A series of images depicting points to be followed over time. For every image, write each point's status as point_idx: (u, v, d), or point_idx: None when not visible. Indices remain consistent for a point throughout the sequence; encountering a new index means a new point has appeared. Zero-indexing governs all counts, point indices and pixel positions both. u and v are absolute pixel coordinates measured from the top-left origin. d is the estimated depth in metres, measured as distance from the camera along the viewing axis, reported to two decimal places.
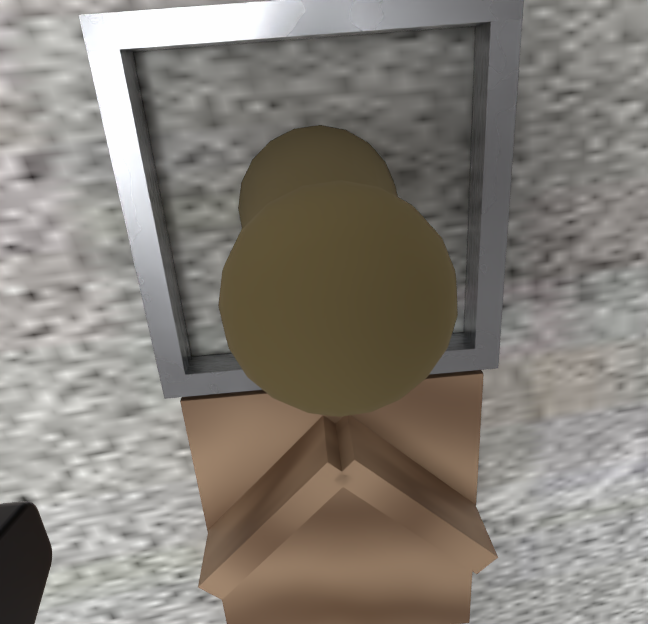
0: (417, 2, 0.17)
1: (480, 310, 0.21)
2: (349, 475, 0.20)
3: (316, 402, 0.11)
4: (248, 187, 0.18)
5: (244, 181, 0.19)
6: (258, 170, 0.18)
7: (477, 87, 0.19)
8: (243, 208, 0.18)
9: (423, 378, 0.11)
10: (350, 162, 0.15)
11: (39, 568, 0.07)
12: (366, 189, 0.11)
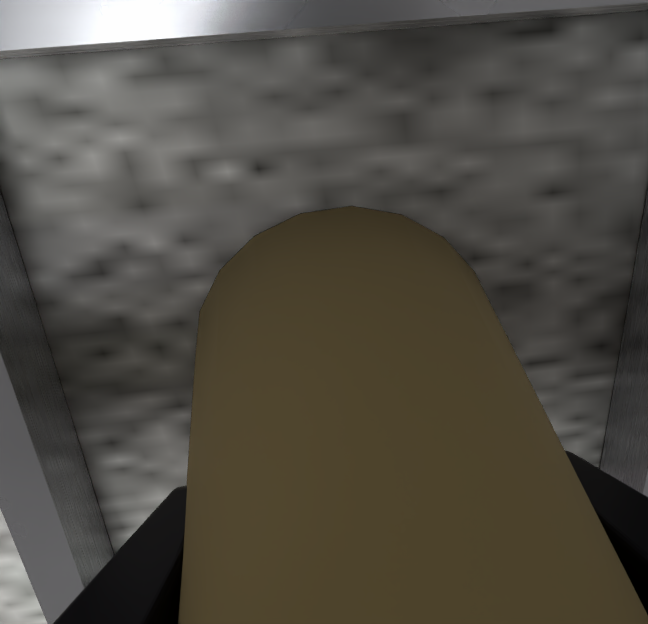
0: None
1: None
2: None
3: None
4: (204, 352, 0.08)
5: (203, 316, 0.10)
6: (225, 319, 0.08)
7: None
8: (193, 399, 0.08)
9: None
10: (450, 353, 0.06)
11: None
12: None
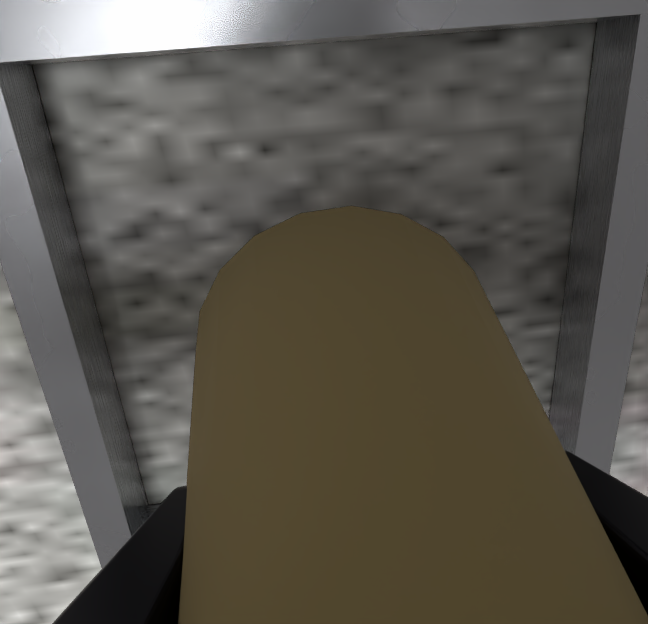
0: None
1: (580, 454, 0.14)
2: None
3: None
4: (204, 351, 0.08)
5: (203, 316, 0.10)
6: (225, 318, 0.08)
7: (595, 121, 0.11)
8: (193, 398, 0.08)
9: None
10: (449, 352, 0.06)
11: None
12: None
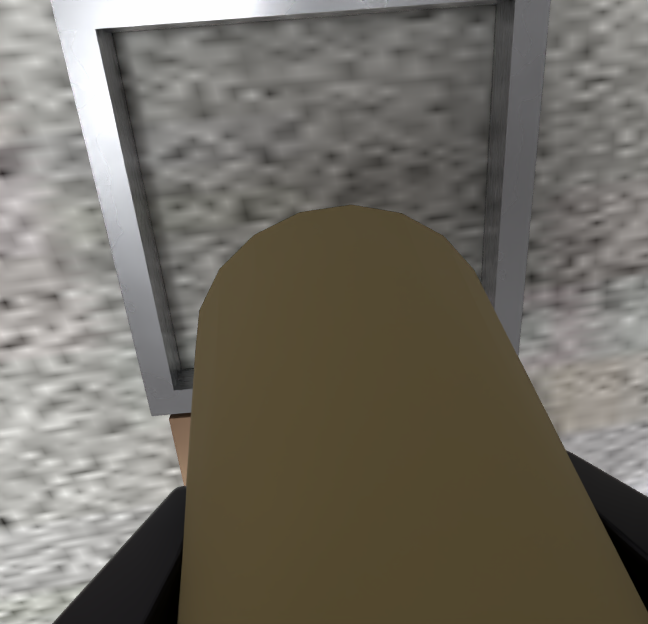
0: None
1: None
2: None
3: None
4: (204, 350, 0.08)
5: (202, 315, 0.10)
6: (224, 318, 0.08)
7: (497, 73, 0.17)
8: None
9: None
10: (450, 351, 0.06)
11: None
12: None
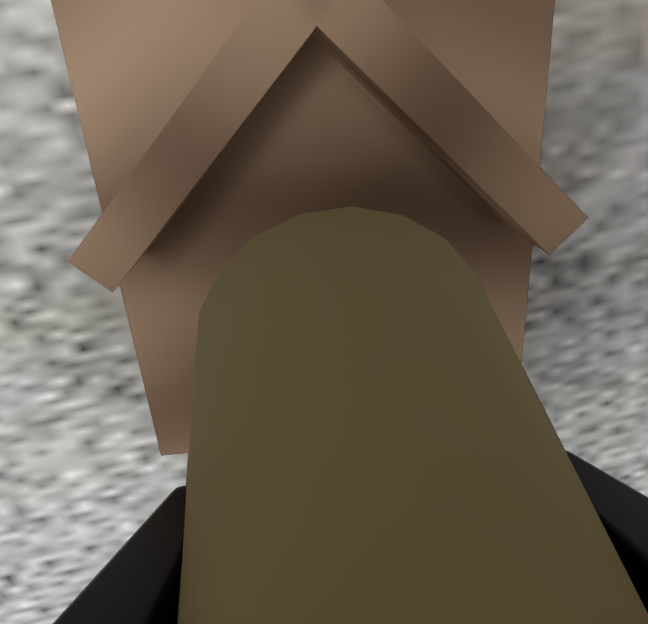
0: None
1: None
2: None
3: None
4: (204, 353, 0.08)
5: (202, 317, 0.10)
6: (224, 320, 0.08)
7: None
8: (192, 400, 0.08)
9: None
10: (451, 354, 0.06)
11: None
12: None
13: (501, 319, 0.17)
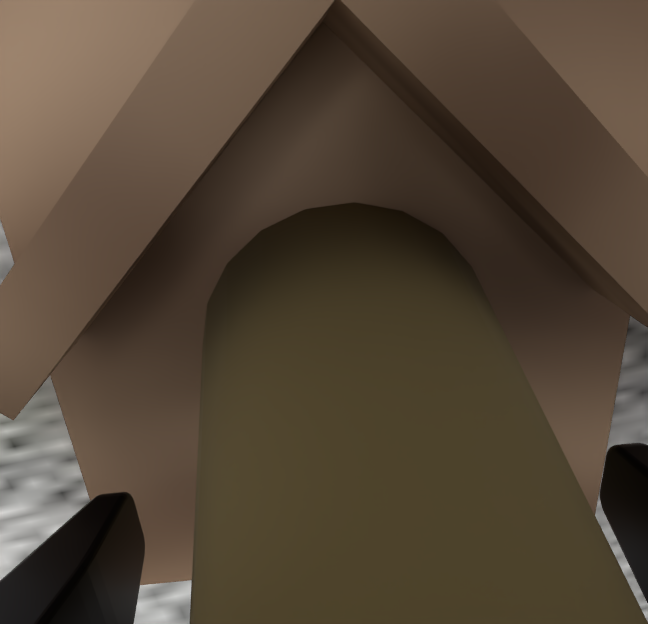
0: None
1: None
2: None
3: None
4: (213, 340, 0.09)
5: (211, 307, 0.10)
6: (233, 308, 0.09)
7: None
8: (202, 384, 0.09)
9: None
10: (447, 339, 0.06)
11: (137, 558, 0.07)
12: None
13: (580, 414, 0.12)
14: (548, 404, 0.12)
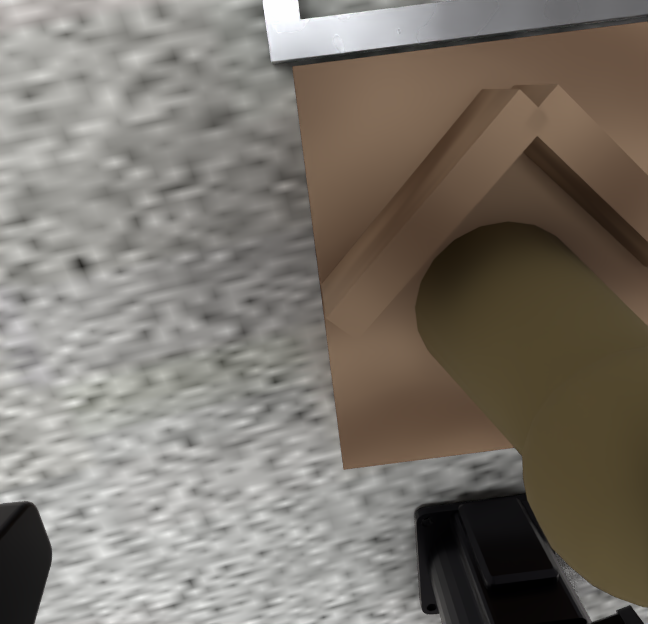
0: None
1: None
2: (548, 114, 0.14)
3: None
4: (449, 297, 0.17)
5: (429, 283, 0.18)
6: (461, 280, 0.17)
7: None
8: (445, 320, 0.17)
9: None
10: (591, 283, 0.14)
11: (39, 568, 0.07)
12: None
13: None
14: None
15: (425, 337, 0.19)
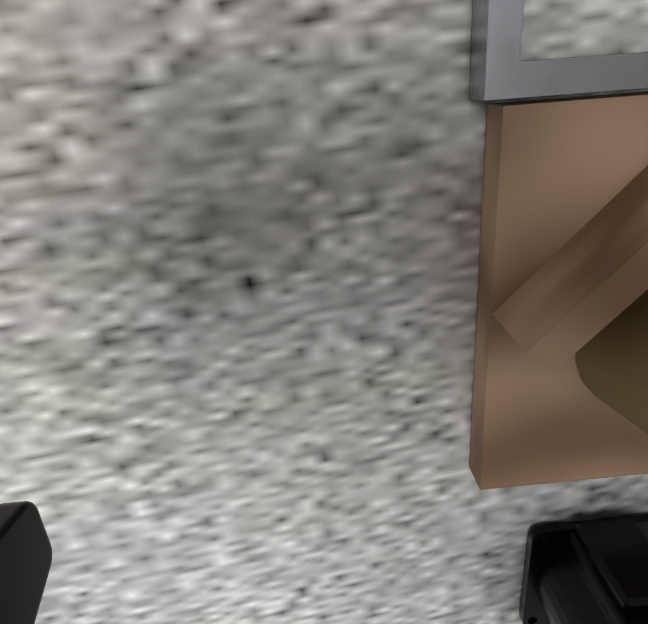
0: None
1: None
2: None
3: None
4: (634, 335, 0.17)
5: None
6: None
7: None
8: (631, 357, 0.17)
9: None
10: None
11: (39, 568, 0.07)
12: None
13: None
14: None
15: (589, 369, 0.19)
